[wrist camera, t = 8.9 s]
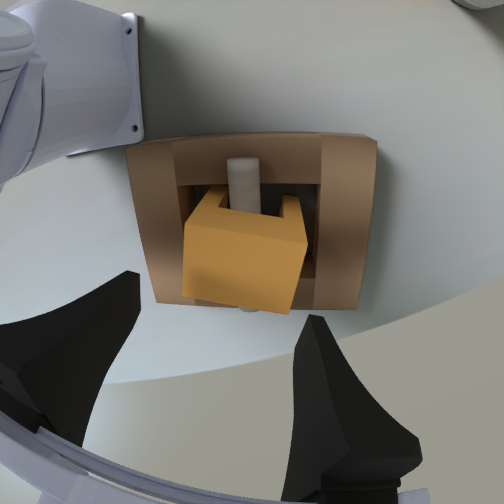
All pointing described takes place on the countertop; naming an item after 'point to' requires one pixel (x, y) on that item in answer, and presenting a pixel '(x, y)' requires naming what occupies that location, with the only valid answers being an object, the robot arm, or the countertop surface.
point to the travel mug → (479, 3)
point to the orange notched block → (243, 253)
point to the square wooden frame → (248, 200)
